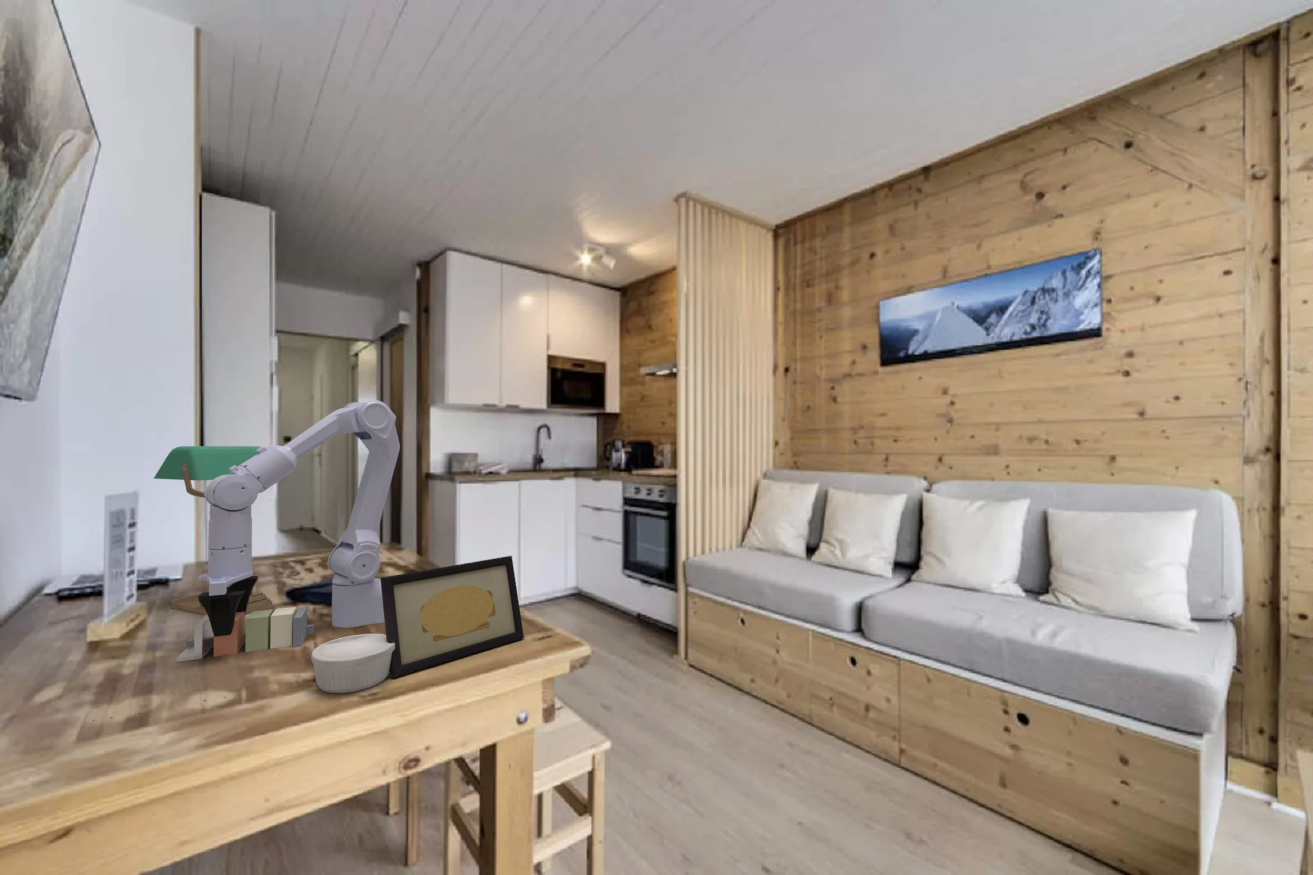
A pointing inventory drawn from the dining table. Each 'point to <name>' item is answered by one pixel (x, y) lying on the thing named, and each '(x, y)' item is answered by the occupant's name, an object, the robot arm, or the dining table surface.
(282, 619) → the cream book
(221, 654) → the rust book
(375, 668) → the ramekin
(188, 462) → the banker's lamp
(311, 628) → the shelf
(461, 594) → the picture frame
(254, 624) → the olive block
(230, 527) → the robot arm
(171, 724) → the dining table surface
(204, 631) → the bookend
